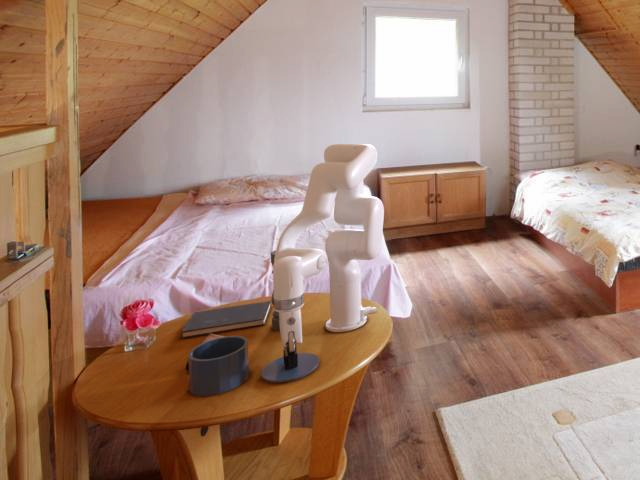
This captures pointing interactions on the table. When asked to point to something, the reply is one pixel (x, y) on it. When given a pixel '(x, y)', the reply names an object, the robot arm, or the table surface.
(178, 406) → the table surface
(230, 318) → the hardcover book
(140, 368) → the table surface
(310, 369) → the lid
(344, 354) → the table surface
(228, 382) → the blue pot
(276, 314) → the candle holder
